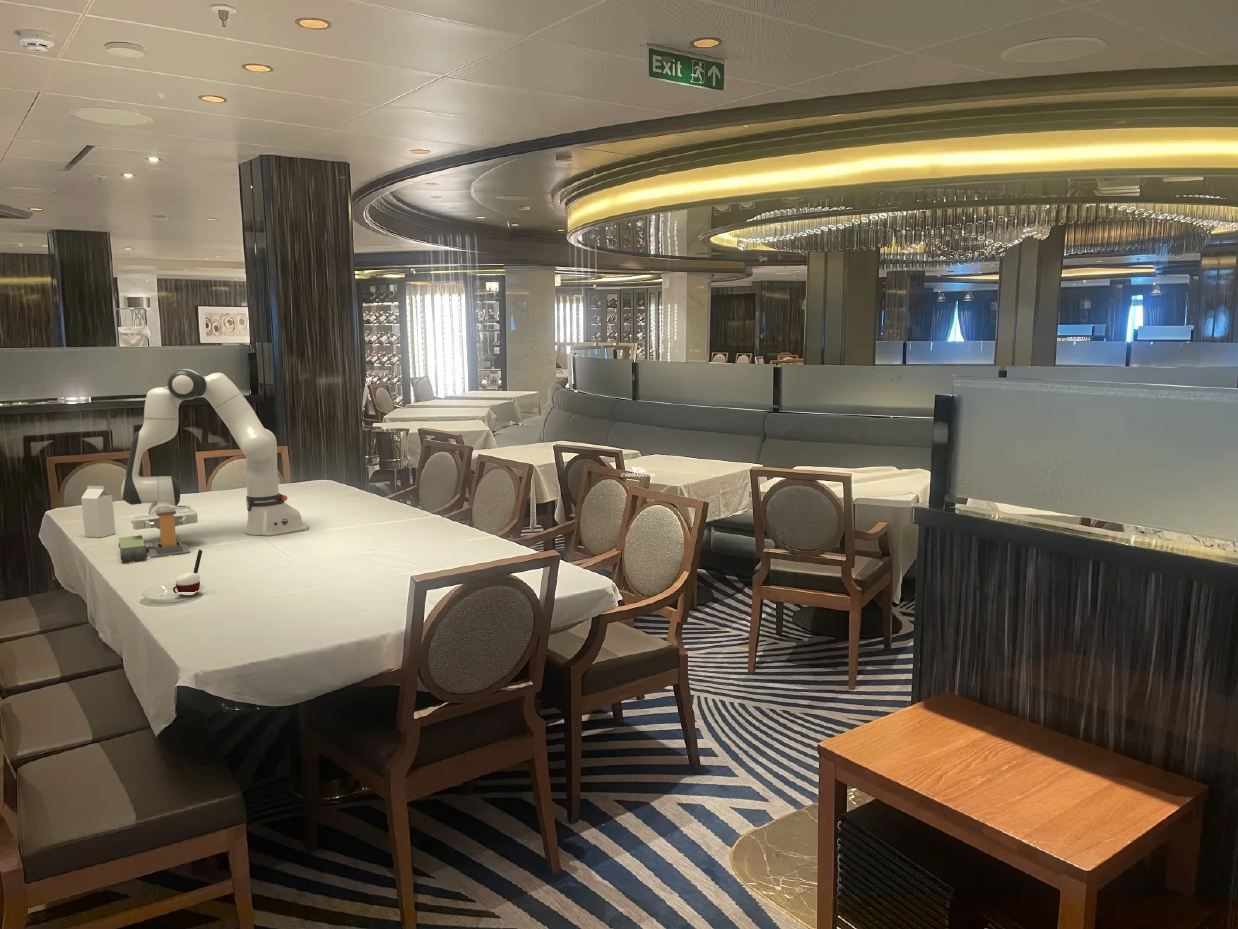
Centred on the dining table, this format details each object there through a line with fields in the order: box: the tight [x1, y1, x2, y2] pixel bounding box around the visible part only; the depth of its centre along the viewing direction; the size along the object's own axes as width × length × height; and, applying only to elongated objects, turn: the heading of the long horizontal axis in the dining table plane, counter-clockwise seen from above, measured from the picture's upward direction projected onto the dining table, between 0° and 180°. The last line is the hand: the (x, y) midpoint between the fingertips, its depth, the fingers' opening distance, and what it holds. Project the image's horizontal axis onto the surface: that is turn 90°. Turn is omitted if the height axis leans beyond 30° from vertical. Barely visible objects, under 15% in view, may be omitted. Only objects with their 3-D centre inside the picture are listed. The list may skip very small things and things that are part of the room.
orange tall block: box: [156, 508, 177, 548], centre depth 298 cm, size 6×6×14 cm
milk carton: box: [80, 485, 117, 538], centre depth 323 cm, size 7×7×19 cm
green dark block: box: [118, 534, 148, 564], centre depth 294 cm, size 8×20×5 cm, turn 32°
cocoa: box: [172, 549, 203, 594], centre depth 249 cm, size 10×6×12 cm, turn 128°
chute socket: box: [148, 540, 191, 559], centre depth 299 cm, size 12×12×3 cm
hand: (166, 524), depth 297 cm, fingers open, 8 cm apart
